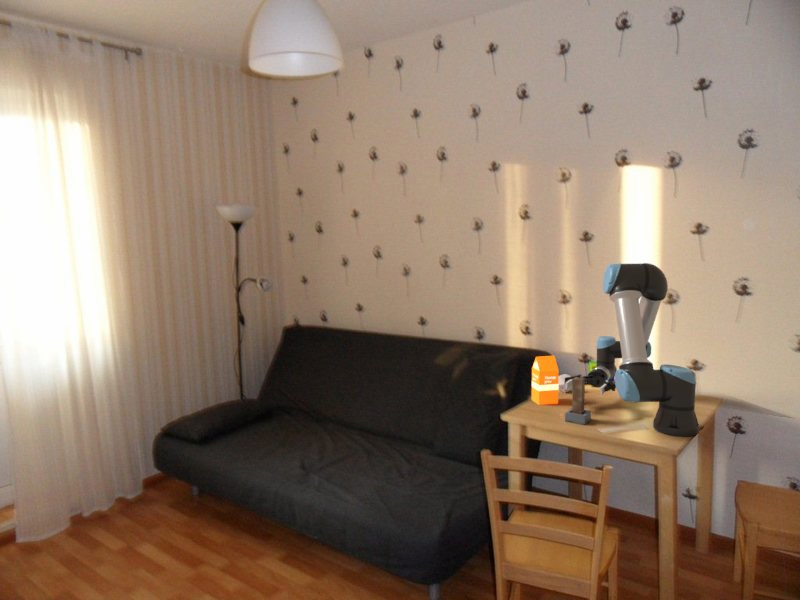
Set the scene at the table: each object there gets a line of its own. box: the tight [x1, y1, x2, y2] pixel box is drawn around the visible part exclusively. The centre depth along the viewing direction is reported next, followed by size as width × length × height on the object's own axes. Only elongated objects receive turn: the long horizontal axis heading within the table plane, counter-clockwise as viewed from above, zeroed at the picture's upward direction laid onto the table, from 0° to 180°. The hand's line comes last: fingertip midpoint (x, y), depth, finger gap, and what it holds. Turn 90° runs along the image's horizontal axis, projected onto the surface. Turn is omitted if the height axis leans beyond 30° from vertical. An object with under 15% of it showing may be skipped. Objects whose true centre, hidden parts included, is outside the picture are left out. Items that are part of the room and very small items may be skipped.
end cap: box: [564, 407, 592, 426], centre depth 216 cm, size 8×8×4 cm
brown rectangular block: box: [571, 377, 586, 415], centre depth 216 cm, size 4×4×16 cm
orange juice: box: [531, 355, 559, 406], centre depth 240 cm, size 8×9×20 cm
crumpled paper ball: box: [558, 373, 573, 394], centre depth 256 cm, size 8×9×10 cm
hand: (583, 388), depth 220 cm, fingers open, 13 cm apart
